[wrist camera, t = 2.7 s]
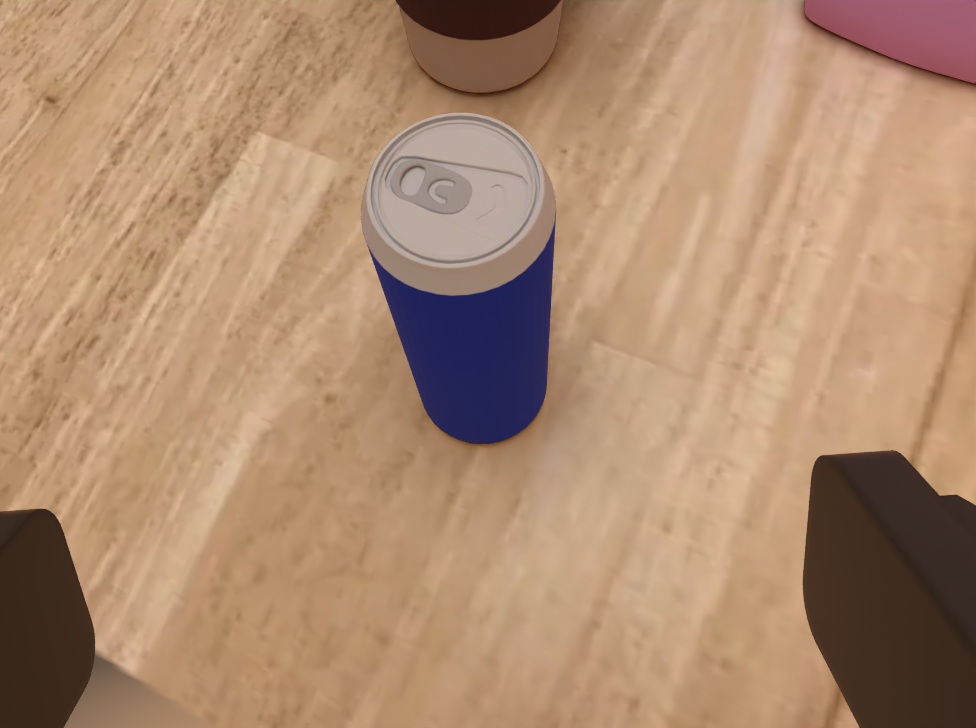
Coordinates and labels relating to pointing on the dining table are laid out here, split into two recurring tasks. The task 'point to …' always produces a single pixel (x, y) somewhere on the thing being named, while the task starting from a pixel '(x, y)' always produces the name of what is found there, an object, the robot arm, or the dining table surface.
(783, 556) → the dining table surface
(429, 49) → the coffee cup
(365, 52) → the dining table surface
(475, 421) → the beverage can
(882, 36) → the teapot
